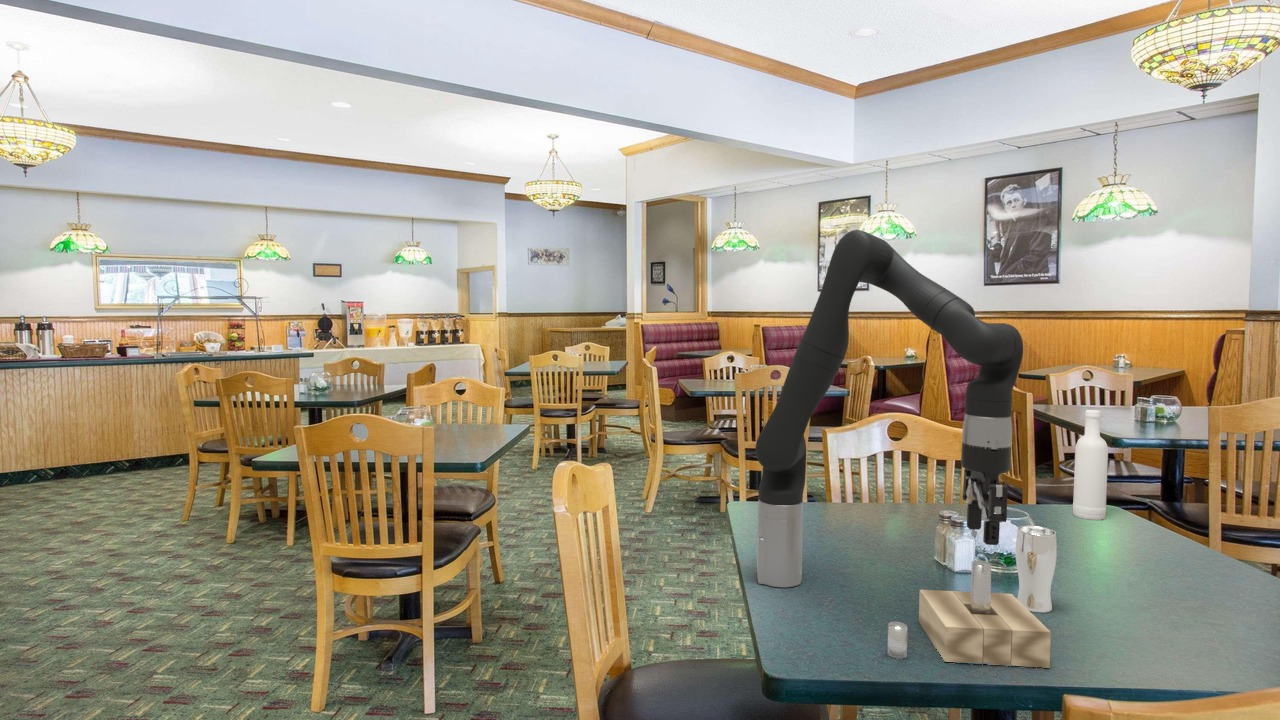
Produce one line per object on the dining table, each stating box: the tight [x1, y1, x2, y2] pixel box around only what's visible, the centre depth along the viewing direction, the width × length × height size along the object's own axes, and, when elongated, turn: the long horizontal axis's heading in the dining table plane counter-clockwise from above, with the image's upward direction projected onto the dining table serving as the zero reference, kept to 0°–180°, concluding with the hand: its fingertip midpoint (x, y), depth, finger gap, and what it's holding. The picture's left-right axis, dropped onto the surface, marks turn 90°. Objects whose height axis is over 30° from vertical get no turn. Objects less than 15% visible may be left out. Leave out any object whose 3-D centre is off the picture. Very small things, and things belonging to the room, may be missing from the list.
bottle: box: [1072, 409, 1109, 521], centre depth 202 cm, size 8×8×30 cm
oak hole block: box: [918, 589, 1052, 669], centre depth 124 cm, size 16×16×6 cm
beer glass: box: [1015, 525, 1058, 614], centre depth 139 cm, size 7×7×15 cm
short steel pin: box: [887, 621, 908, 660], centre depth 120 cm, size 3×3×5 cm
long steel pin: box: [970, 560, 992, 615], centre depth 123 cm, size 3×3×14 cm
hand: (982, 536), depth 122 cm, fingers open, 8 cm apart
